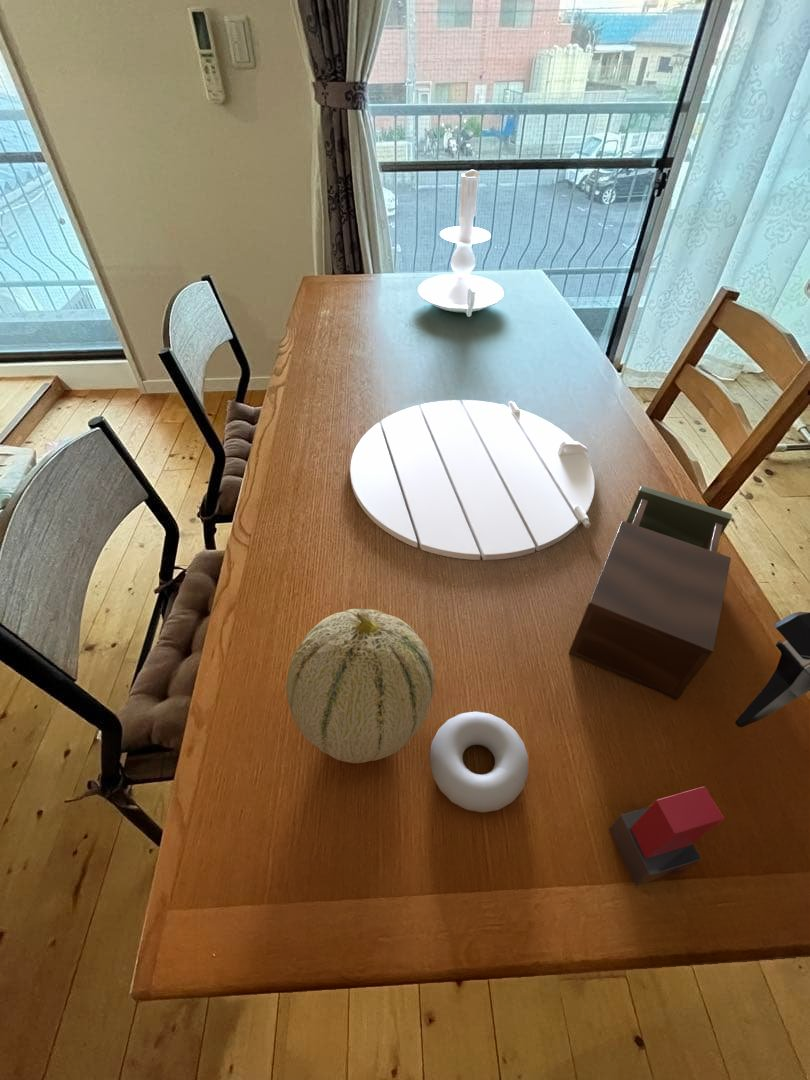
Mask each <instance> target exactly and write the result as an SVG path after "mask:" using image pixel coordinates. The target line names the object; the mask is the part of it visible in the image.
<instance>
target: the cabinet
mask: <svg viewBox="0 0 810 1080" xmlns="http://www.w3.org/2000/svg"><path fill="white" fill-rule="evenodd" d="M731 559H732V557H731V556H728V555H725V554H722V553H719V552H717V553H716V552H713V551H710V550H707V549H704V548H701V547H699V546H696V545H693V544H690V543H687V542H684V541H681V540H678V539H675V538H672V537H669V536H666V535H663V534H660V533H657V532H654V531H651V530H648V529H646V528H643V527H640V526H637V525H634V524H631V523H628V522H626V521H625V520H621V521H620V524H619V527H618V529H617V532H616V534H615V537H614V539H613V541H612V544H611V547H610V548H609V551H608V554H607V557H606V559H605V561H604V564H603V566H602V569H601V571H600V573H599V576H598V579H597V581H596V584H595V586H594V588H593V590H592V591H593V592H592V594H591V596H590V598H589V601H588V604H587V606H586V608H585V612H584V613H583V616H582V619H581V621H580V623H579V626H578V629H577V630H576V633H575V636H574V638H573V641H572V643H571V646H570V649H569V651H568V655H570V656H572V657H575V658H577V659H579V660H582V661H584V662H586V663H589V664H591V665H593V666H595V667H598V668H599V669H603V670H605V671H607V672H609V673H612V674H614V675H617V676H619V677H621V678H624V679H626V680H628V681H630V682H633V683H636V684H637V685H640V686H642V687H644V688H646V689H649V690H651V691H654V692H656V693H658V694H660V695H663V696H665V697H667V698H670V699H672V700H674V701H678V699H679V698H680V697H681V696H682V695H683V693H684V692H685V691H686V689H687V688H688V686H690V684H691V682H692V681H693V680H694V679H695V677H696V676H697V674H698V673H699V672H700V670H701V669H702V668H703V666H704V665H705V663H706V662H707V661H708V660H709V658H710V657H711V655H712V654H713V653H714V649H715V645H716V639H717V634H718V629H719V624H720V618H721V614H722V608H723V603H724V597H725V592H726V586H727V581H728V575H729V570H730V565H731Z"/></svg>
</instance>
